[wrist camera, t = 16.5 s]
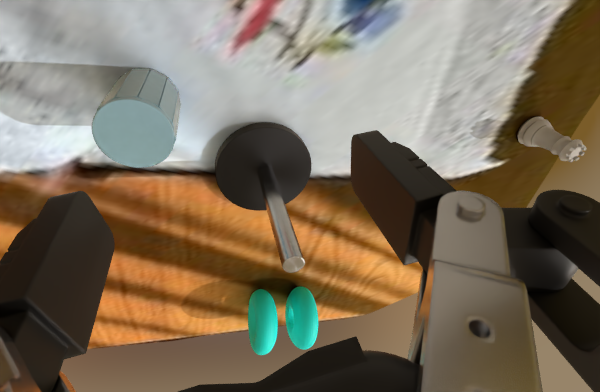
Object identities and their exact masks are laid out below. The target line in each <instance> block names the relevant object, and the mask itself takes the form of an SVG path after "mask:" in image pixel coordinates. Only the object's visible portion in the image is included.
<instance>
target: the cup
mask: <svg viewBox="0 0 600 392" xmlns="http://www.w3.org/2000/svg"><path fill="white" fill-rule="evenodd" d="M180 107H181V103H180V97H179V91H178V89H177V88H176V87H175V85H174V84H173V83H172V82H171V80H170V79H169V78H168V77H167V76H165V75H163V74H161V73H159V72H157V71H155V70H153V69H150V68H134V69H132V70H130V71H128V72H127V73H125V74H124V75H122V76H121V77H120V78H119V79H118V81H117V82H116V83H115V85H114V86H113V88H112V89H111V90H110V92H109V93H108V95H107V96H106V97H105V99H104V100H103V102H102V103H101V105H100V106H99V107H98V109H97V112H96V114H95V116H94V118H93V122H92V134H93V137H94V140H95V142H96V144H97V145H98V147H99V148H100V149H101V151H102V152H103V153H104V154H105V155H107V156H108V157H109V158H111V159H112V160H114V161H116V162H118V163H120V164H122V165H126V166H129V167H137V168H144V167H150V166H154V165H156V164H158V163H160V162H162V161H163V160H165V159H166V158H167V157H168V156H169V154H170V153H171V151H172V149H173V147H174V143H175V141H176V135H177V128H178V121H179V114H180Z"/></svg>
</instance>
